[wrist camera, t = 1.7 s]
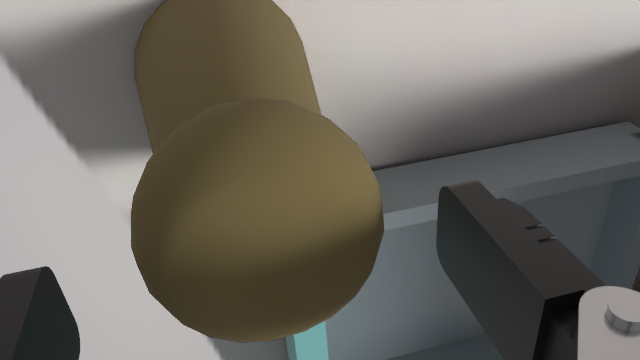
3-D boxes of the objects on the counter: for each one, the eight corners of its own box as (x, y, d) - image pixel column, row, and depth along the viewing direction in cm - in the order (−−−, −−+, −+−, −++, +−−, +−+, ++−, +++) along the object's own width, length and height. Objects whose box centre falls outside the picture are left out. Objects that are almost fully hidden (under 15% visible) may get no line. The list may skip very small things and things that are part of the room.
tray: (262, 192, 21) (284, 273, 17) (628, 121, 24) (723, 176, 20) (291, 376, 28) (312, 467, 24) (576, 303, 31) (640, 373, 27)
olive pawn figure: (325, 112, 20) (448, 319, 11) (180, 168, 20) (189, 425, 11) (274, -45, 17) (394, 73, 8) (99, 20, 17) (17, 218, 8)
